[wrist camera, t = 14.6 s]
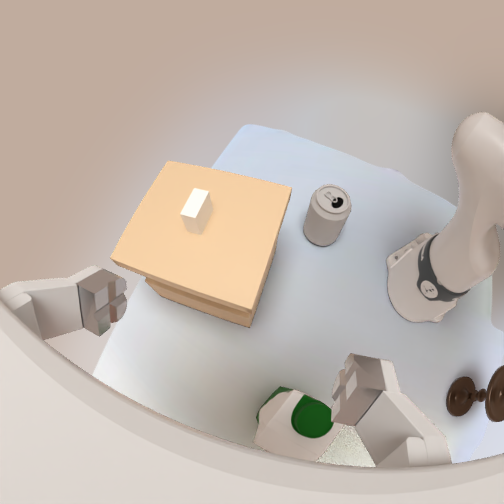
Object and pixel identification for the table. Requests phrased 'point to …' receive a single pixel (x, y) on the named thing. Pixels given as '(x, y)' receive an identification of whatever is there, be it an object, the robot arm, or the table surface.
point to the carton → (208, 301)
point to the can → (327, 214)
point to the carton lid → (205, 233)
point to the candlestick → (478, 396)
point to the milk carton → (295, 425)
